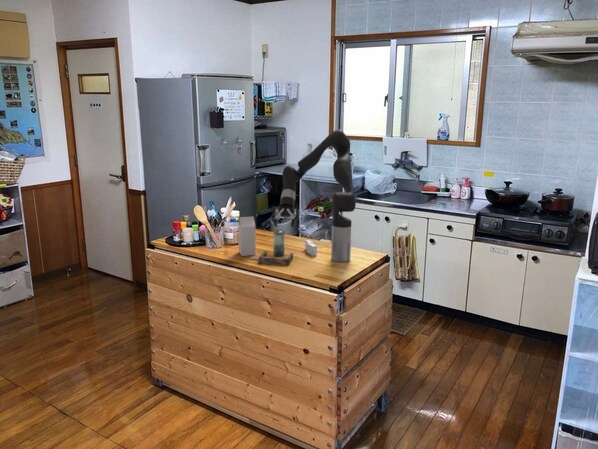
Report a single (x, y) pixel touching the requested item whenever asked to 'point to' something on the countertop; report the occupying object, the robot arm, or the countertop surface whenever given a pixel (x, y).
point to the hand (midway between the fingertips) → (283, 226)
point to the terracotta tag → (255, 257)
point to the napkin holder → (310, 248)
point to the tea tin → (279, 243)
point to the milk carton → (247, 236)
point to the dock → (275, 259)
